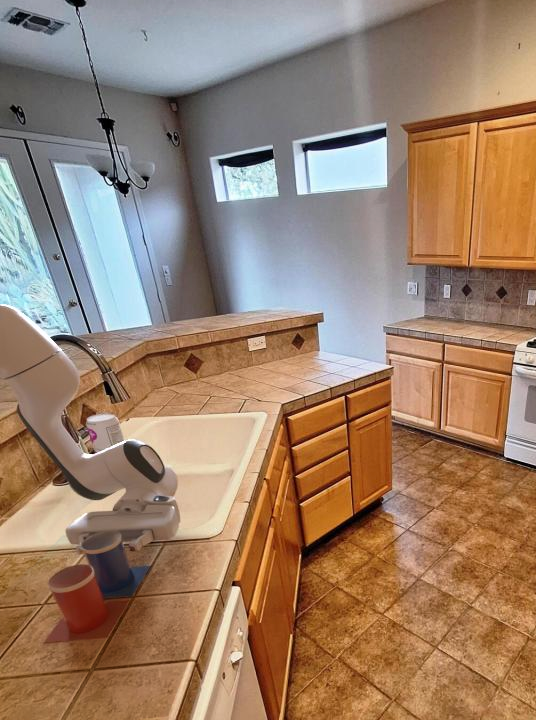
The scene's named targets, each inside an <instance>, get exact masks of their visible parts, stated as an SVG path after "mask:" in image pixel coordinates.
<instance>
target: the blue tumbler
mask: <svg viewBox="0 0 536 720" xmlns="http://www.w3.org/2000/svg"><path fill="white" fill-rule="evenodd" d="M81 547H82V550H83V552H84V554H83V555H84V556H85V559H86V561H87V562H86V563H87V565H90V566H92V567H93V569H94V572H95V575H96V578H97V581H98V583H99V586H100V589H101V591H102V592H113V591H117V590H120V589H122V588H124V587H126V586H127V585H129V584H130V583H131V582H132V580H133V578H134V575H133V572H132V569H131V567H132V566H131V563H130V560H129V557H128V553H127V551H126V548H125V545H124V542H123V541H122V537H121V535H120V533H119V532H116V531H104V532H100V533H97V534H94V535H92V536H90V537H88V538H87V539H85V540H84V541H83V543H82V545H81Z"/></svg>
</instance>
